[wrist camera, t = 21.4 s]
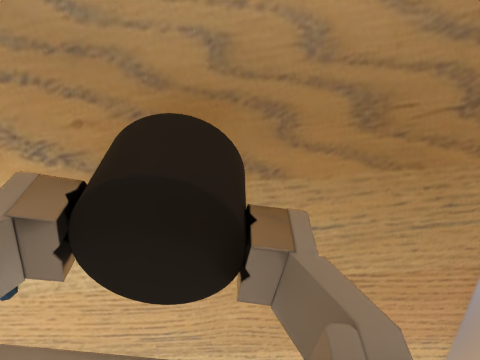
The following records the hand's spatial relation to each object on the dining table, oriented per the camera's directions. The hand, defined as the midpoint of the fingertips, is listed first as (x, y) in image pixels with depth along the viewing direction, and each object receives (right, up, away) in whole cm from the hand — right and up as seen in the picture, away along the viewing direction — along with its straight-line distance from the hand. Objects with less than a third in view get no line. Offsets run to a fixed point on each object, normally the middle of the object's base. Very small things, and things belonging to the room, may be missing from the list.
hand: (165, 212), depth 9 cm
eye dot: (0, +1, +1) cm, 2 cm away
